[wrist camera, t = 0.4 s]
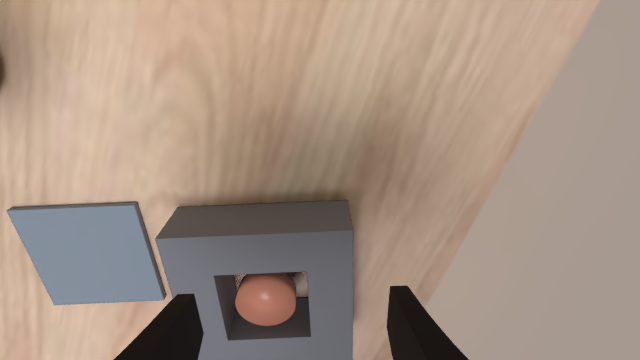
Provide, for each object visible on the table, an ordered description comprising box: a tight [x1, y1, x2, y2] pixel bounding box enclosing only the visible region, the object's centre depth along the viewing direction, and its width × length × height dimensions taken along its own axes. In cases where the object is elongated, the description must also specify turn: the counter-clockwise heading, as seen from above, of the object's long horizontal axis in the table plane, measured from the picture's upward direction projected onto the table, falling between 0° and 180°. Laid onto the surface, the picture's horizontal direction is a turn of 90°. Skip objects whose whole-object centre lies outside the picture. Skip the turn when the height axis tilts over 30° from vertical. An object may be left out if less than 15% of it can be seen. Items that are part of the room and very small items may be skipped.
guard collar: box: [155, 200, 354, 360], centre depth 23 cm, size 11×11×4 cm
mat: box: [7, 202, 166, 305], centre depth 23 cm, size 8×8×1 cm
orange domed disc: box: [235, 272, 296, 326], centre depth 22 cm, size 4×4×1 cm
